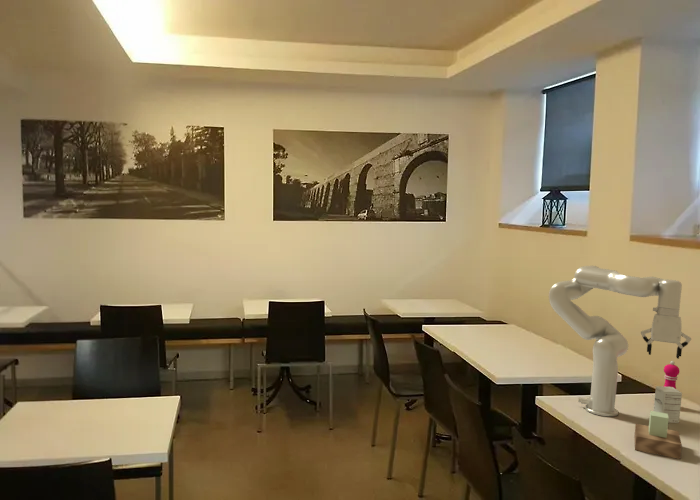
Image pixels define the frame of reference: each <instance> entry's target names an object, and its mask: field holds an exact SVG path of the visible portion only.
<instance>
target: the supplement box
mask: <svg viewBox="0 0 700 500" xmlns="http://www.w3.org/2000/svg"><path fill="white" fill-rule="evenodd" d="M663 386H664V385H663ZM663 386H661V385H660V386H659V385H656V386H655V393H654V400H653V401H654V402H653V410H652V411H655V412H661V413H667V414H668V418H669V420H668V423H673V424H674V423H675V424H679V422H680V415H681V407H682V398H683V392H681V391H680V390H679V389H677V388H676V389H675V388H673V387H663Z"/></svg>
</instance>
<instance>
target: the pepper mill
mask: <svg viewBox="0 0 700 500" xmlns="http://www.w3.org/2000/svg"><path fill="white" fill-rule="evenodd" d="M663 372H664V376H663V378H664V385H663V387H673V388H675V389H677V387H676V386H677V385H676V383H677V381H678V375H679V374H680V368H679V367H678V366H677V365H676V363H675V361H674V360H671V361H670V362H669V363H668V364H665V366H663Z"/></svg>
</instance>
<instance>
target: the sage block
mask: <svg viewBox="0 0 700 500" xmlns="http://www.w3.org/2000/svg"><path fill="white" fill-rule="evenodd" d="M668 420H669V418H668V414H667V413H661V412H655V411H653V410H650V412H649V420H648V421H649V422H648V426H649V435H654V436H659V437H664V438H667V430H669V428H668V427H669V422H668Z"/></svg>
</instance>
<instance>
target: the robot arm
mask: <svg viewBox="0 0 700 500" xmlns="http://www.w3.org/2000/svg"><path fill="white" fill-rule="evenodd" d="M682 285H683V284H682V282H681V281H679V280H676V279H664V278H661V277H660V278H659V277H656V276H645V277H639V276H631V275H625V274H622V273H620V272H619V271H618V270H613V269H609V268H608V269H607V268H601V267H599V266H596V265H584V266H579V268H577V269H576V270H575V272H574V276H573V278H572V279H570V280H562V281H558V282H556V283H554V284H553V285H552V286H551V287H550V289H549V292H548V301H549V304H550V307H551V308H552V310H553V311H554V312H555V314H556V315H558V316H559V317H560V318H561V319H562V320H563V321H564V322H566V324H567V325H568V326H569V327H571V329H572V330H573V331H574V332H575V333H576V334H578V335H579V337H580V338H582V339H583V340H586V341H591V340H595V341H594V343H593V346H592V375H591V384H590V386H591V387H590V396H589V398H588V397H587V398H583V397H578V402H577V403H580V404H581V405H585V410H586V411H587V412H589V413H591V414H594V415H598V416H602V417H615V416H618V415H619V411H618V409H617V408H616V395H617V385H618V375H619V374H618V373H619V366H618V365H619V363H618V358H619V357H621V356H624V355H626V353H627V352H628V350H629V343H628V340H627V339H626V337H625V336H624V335H623V334H622V333H621V331H619V330H617V328H616V327H614V326H613V325H612V323H610V322H609V321H608V320H607V319H605V318H604V317H602V316H598V315H589V314H588V313H586V312H585V311H584V310H583V309H582V308H581V307H580V306H579V305H577V304H575V303H574V302H573V300H578V299H579V298H581V297H583V296H584V295H586V294H587V293H589V292H591V291H592V290H593V289H597V290H598V289H599V290H602V291H603V290H604V291H609V292H610V291H611V292H613V293H618V294H621V295H626V296H632V297H638V298H639V297H640V298H649V297H655V296H657V297H658V298H657V306H655V307H653V308H652V312H655V313H654V315H653V319H652V324H651V327H650V328H648V329H643V330H642V331H640V334H641V338H642V339H643V340H644V341H645V343H646V344H647V346H646V352H647V353H648V356H649V355H650V356H651V355H652V347H653V346H652V345H653V344H652V343H653V342H654V341H655V342H662V343H669V344H676V345H677V347H676V359H677V360H678V359H680V357H682V351H683V349H684V348H685V347H687V346H688V344H689V343H690V342H691V340H692V338H691V337H690V336H689V335H688V334H685V333H684V332H682V317H681V316H680V306H681V305H680V304H681V297H682V288H683V286H682ZM649 333H650V338H648V337H647V336H646V334H649ZM578 335H577V336H578ZM682 337H683V338H684V339H685V340H684V341H683V342H682V343H681V339H682Z"/></svg>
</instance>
